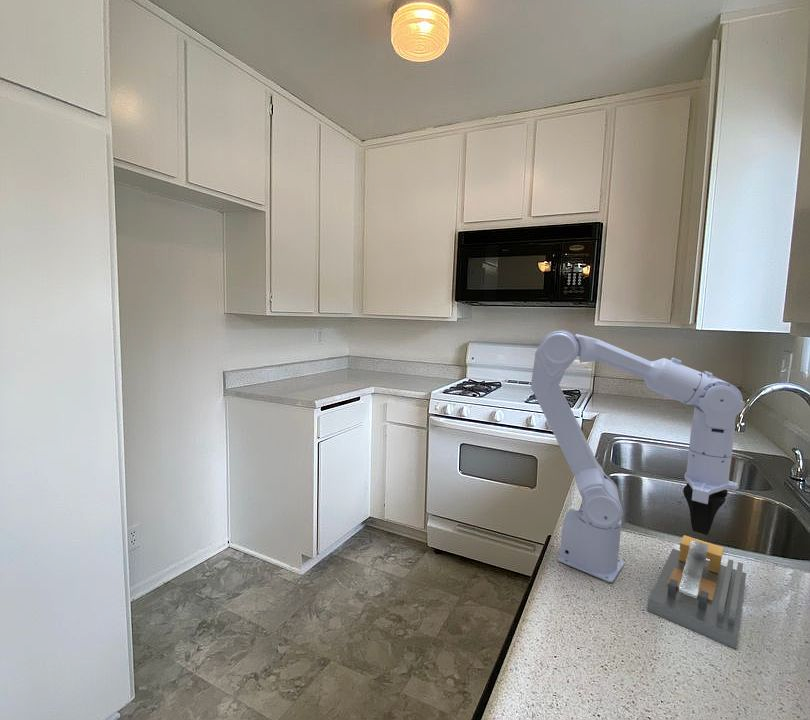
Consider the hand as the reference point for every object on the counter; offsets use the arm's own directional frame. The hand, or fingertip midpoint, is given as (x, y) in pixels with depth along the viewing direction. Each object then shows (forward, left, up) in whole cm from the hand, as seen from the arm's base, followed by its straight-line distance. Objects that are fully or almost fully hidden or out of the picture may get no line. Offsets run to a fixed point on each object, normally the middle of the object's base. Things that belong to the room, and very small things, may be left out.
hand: (700, 530), depth 71 cm
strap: (0, -3, -6) cm, 6 cm away
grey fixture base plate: (+1, -2, -10) cm, 11 cm away
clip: (0, +6, -8) cm, 10 cm away
